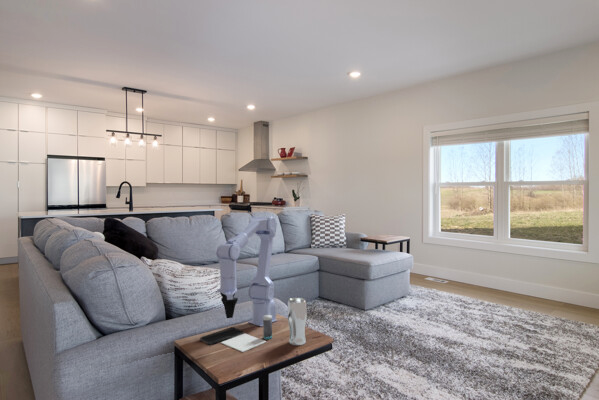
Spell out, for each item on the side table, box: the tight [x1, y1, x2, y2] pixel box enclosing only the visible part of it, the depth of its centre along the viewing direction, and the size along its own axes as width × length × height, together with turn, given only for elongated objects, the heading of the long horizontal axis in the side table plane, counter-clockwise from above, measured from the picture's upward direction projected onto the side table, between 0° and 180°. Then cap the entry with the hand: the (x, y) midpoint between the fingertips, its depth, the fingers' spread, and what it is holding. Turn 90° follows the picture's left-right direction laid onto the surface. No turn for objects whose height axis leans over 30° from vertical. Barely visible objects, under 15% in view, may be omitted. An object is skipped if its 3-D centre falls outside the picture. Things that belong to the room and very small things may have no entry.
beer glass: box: [286, 297, 308, 346], centre depth 128 cm, size 7×7×15 cm
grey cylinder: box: [262, 315, 273, 341], centre depth 132 cm, size 3×3×8 cm
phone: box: [199, 326, 244, 346], centre depth 134 cm, size 8×1×15 cm
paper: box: [220, 333, 268, 353], centre depth 128 cm, size 11×12×1 cm
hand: (228, 314), depth 129 cm, fingers open, 7 cm apart
